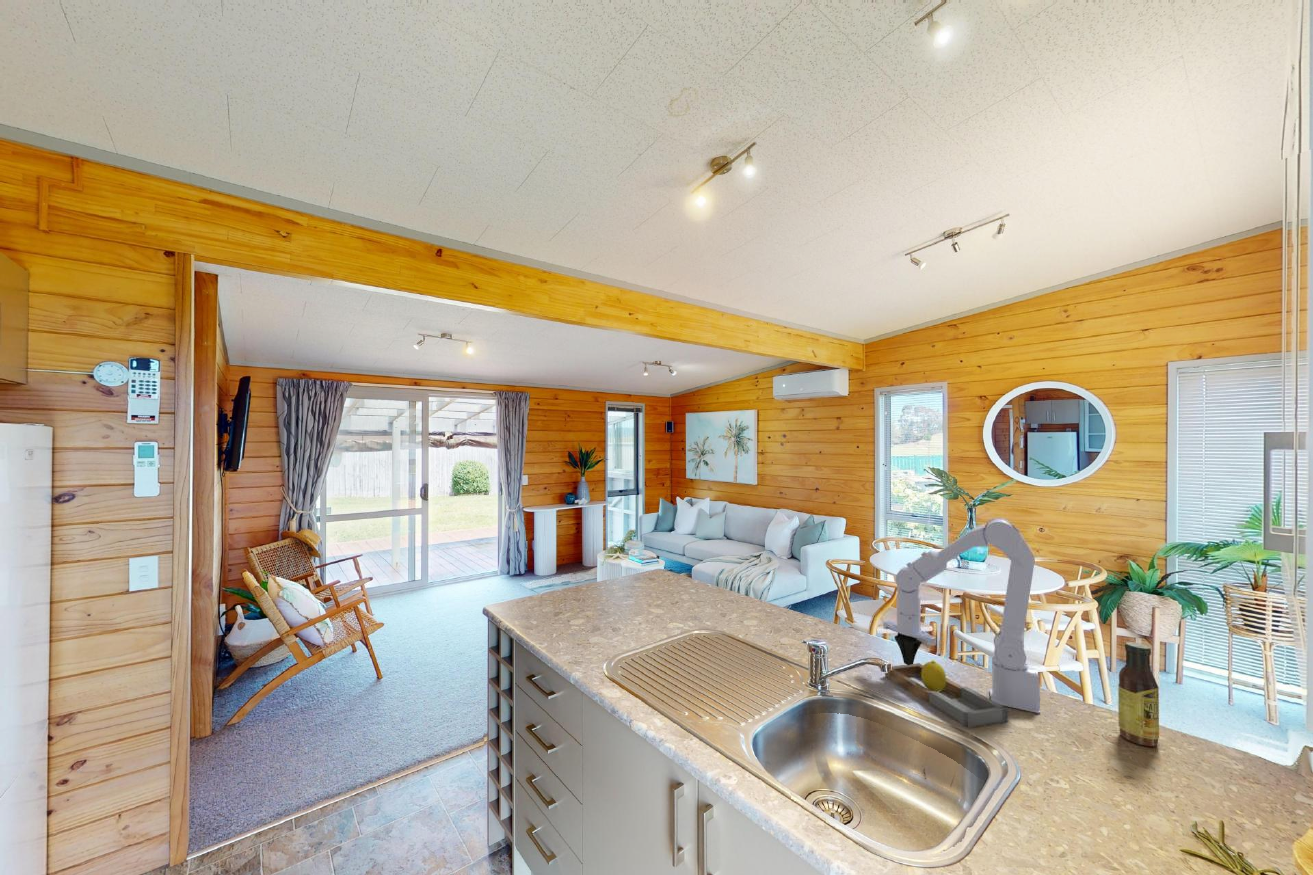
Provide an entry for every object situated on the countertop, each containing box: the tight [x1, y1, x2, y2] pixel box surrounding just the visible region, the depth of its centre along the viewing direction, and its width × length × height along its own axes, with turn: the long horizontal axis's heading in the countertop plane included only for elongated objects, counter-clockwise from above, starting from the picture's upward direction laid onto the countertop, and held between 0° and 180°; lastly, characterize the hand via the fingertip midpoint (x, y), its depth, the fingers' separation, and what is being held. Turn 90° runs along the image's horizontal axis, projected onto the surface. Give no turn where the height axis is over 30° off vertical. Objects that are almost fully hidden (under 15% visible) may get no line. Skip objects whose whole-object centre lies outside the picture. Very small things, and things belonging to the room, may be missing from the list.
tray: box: [929, 686, 1009, 729], centre depth 118 cm, size 11×11×3 cm
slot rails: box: [884, 663, 963, 705], centre depth 131 cm, size 16×11×2 cm
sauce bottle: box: [1117, 641, 1160, 747], centre depth 107 cm, size 6×6×20 cm
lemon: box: [920, 660, 947, 693], centre depth 127 cm, size 6×6×8 cm
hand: (908, 663), depth 136 cm, fingers closed
